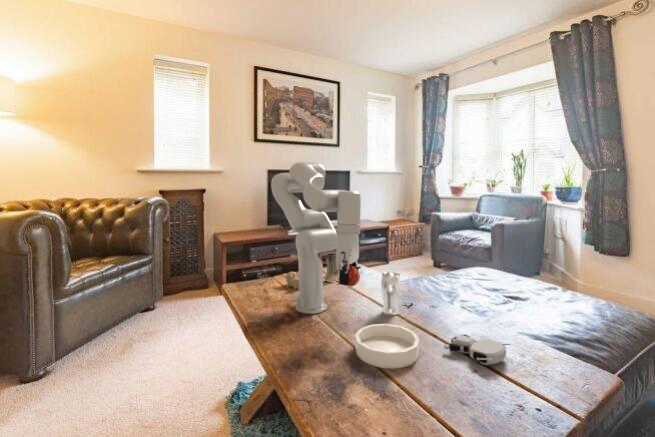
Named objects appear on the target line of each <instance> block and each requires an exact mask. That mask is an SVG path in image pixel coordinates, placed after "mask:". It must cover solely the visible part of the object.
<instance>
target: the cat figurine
mask: <svg viewBox="0 0 655 437" xmlns="http://www.w3.org/2000/svg"><path fill="white" fill-rule="evenodd" d="M282 277H283V278H285V281H286V284H287V286H288V287H289V286H290V287H293V288H294V289H296V288H299V276H298V275H297V273H296V271H288V273H283V274H282ZM290 287H289V288H290Z"/></svg>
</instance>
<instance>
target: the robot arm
mask: <svg viewBox="0 0 655 437" xmlns="http://www.w3.org/2000/svg"><path fill="white" fill-rule="evenodd" d="M325 179H326V169H325V167H324V166H323V164H321V163H319V162H311V161H309V162H307V161H306V162H305V161H301V162H299V161H298V162H296V163H294V164H292V165H291V166H290V168H289V172H281V173H277V174H275V175H274V176H273V177H272V179H271V184H270V186H271V192H272V195H273V198H274V200H275V202H276V203H277V204H278V205H279V207H280V208H281V209H282V211H283V213H284V215H285V217H286V219H287V221H288V223H289V225H290V227H291V229H292V231H293V232H294V233H298V234H296V237H295V248H296V252H297V259H298V260H297V261H298V280H299V289H298V290H299V291H298V294H299V295H297V294H292V295H291V302H295V303H296V304H295V310H296V311H297V312H298V313H301V314H307V315H309V314H310V315H311V314H312V315H313V314H319V313H323V312H325V311H326V310H327V309H328V304H327V303H326V302H325V301H324V281H323V278H324V270H323V269H324V267H323V262H322V260H321V258H320V257H319V255H318V254H321V253H328V252H332V251H334V250H336V251H335V255H336V263H337V266H338V271H339V272H338V275H339V282H338V283H339V284H338V285H342V286H348V285H349V273H348V269H349V265H352V266H354V267H359V266H358V265H359V264H358V263H359V262H358V261H359V257H360V236H359V235H360V234H361V206H362V205H361V201H362V200H361V198H362V196H361V193H360V192H359V191H357V190H346V189H324V186H325V183H326V182H325V181H326V180H325ZM294 193H302V195H303V201H304V202H305V204H306V205H307V206H308V207H309V208H306V207H305V206H304V204H303V203H302V201H301V199H299V197H298V196H296V195H295V194H294ZM336 212H337V214H336V216H337V218H336V219H337V220H336V221H337V223H336V224H337V225H336V226H337V229H336V228H334V225H333V224H332V222H331V221H330V218H329V216H328V215H327V213H336ZM336 230H337V231H336ZM344 266H346V269H345V267H344Z"/></svg>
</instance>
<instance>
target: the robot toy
mask: <svg viewBox="0 0 655 437" xmlns="http://www.w3.org/2000/svg"><path fill="white" fill-rule="evenodd" d="M510 345H511V343H502V342H501V341H497V340H493V339H490V338H483V339H479V340H475V339H474V338H472V337H471V336H469V335H467V334H459V335H458V336H454V337H452V338H451V339H450V343H449V344H446V343H445V344H443V348H444V349H445V350H449V351H450V352H458V353H461V354H467V355H468V354H469V356H470V358H471V359H472V360H473V361H475V362H478V363H480V364H482V365H484V366H489V365H496V364H499V363H500V362H502V361H503V360H504V359H505V358H506V356H507V347H506V346H510Z"/></svg>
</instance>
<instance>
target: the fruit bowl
mask: <svg viewBox="0 0 655 437" xmlns="http://www.w3.org/2000/svg"><path fill="white" fill-rule="evenodd" d="M354 348H355V354H356V356H358V358H359V360H360V361H362V362H363V363H366V364H368V365H370V366H372V367H376V368H380V369H390V370H392V369H393V370H396V369H397V370H398V369H402V368H407V367H411V365H412V366H413V365H414V364H415V363H416V362H417V361H418V359H419V353H420V338H419V337H418V335H417V334H416V333H415V332H414V331H413V330H411V329H409V328H407V327H404V326H401V325H395V324H391V323H390V324H389V323H375V324H370V325H367V326H364V327H361V328H359V329H358V331H357V332H356V333H355V334H354Z"/></svg>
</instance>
